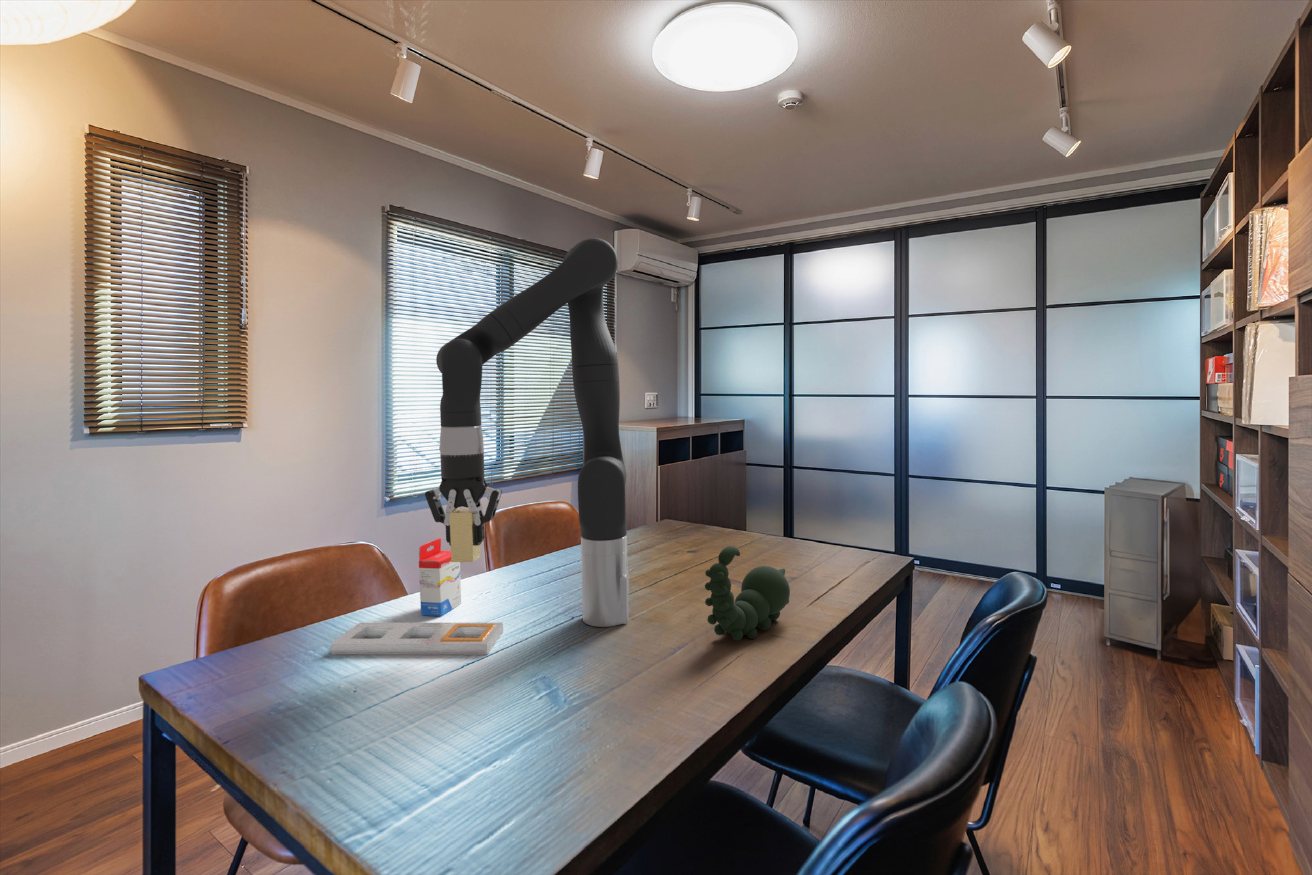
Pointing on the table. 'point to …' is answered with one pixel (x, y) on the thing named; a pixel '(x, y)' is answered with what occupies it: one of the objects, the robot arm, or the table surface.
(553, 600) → the table surface
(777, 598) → the toy figurine
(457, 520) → the brass block
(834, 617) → the table surface
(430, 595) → the ink box
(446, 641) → the white flat slotted block
